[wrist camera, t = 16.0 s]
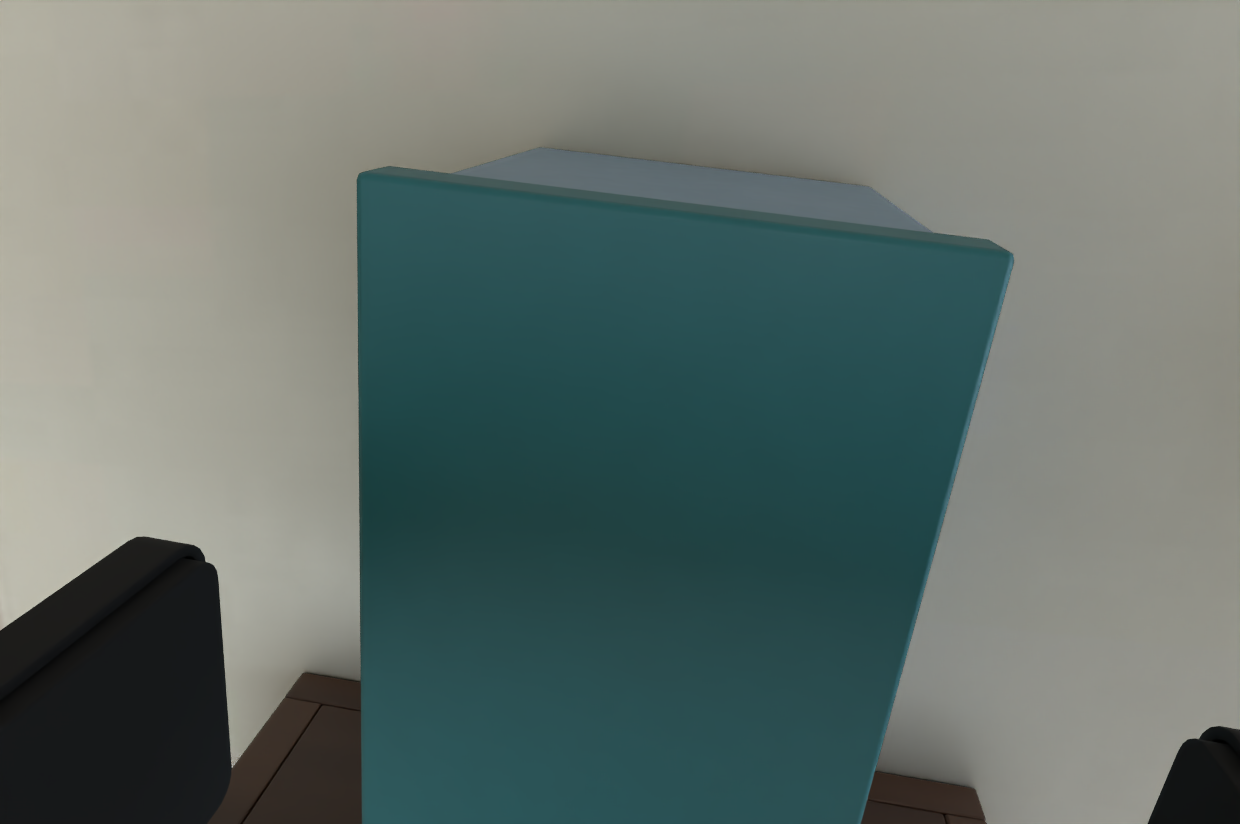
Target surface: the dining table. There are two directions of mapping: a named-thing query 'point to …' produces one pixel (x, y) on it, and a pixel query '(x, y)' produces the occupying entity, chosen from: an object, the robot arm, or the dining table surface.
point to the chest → (332, 775)
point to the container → (648, 485)
